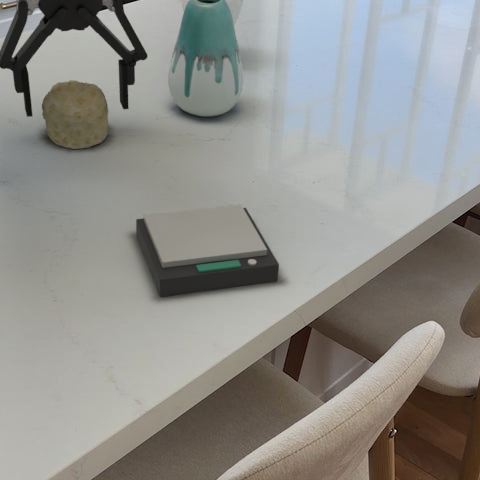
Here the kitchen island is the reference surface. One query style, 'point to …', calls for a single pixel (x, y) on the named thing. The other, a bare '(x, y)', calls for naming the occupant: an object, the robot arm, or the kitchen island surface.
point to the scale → (205, 250)
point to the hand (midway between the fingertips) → (77, 109)
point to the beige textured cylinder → (75, 114)
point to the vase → (206, 60)
